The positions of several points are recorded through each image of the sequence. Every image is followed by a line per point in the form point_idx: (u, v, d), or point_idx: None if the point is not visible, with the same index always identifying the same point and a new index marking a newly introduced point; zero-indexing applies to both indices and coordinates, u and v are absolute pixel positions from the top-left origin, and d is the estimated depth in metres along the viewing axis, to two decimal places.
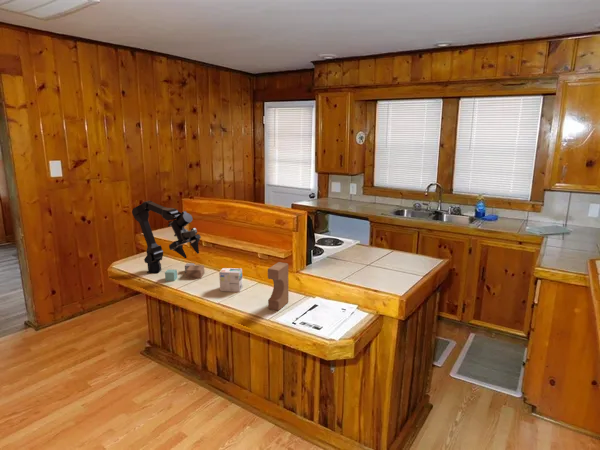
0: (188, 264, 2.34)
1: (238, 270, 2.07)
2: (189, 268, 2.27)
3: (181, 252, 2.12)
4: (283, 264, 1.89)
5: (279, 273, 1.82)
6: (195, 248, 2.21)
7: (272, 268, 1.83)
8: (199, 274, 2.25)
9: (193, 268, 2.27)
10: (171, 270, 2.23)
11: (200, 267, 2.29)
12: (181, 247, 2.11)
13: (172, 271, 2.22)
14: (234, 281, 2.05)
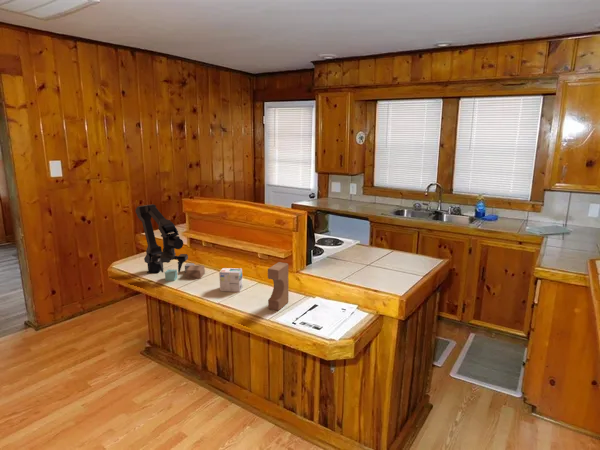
0: (188, 264, 2.34)
1: (238, 270, 2.07)
2: (189, 268, 2.27)
3: None
4: (283, 264, 1.89)
5: (279, 273, 1.82)
6: None
7: (272, 268, 1.83)
8: (199, 274, 2.24)
9: (193, 268, 2.27)
10: (171, 270, 2.23)
11: (200, 267, 2.29)
12: (158, 263, 2.19)
13: (172, 271, 2.22)
14: (234, 281, 2.06)
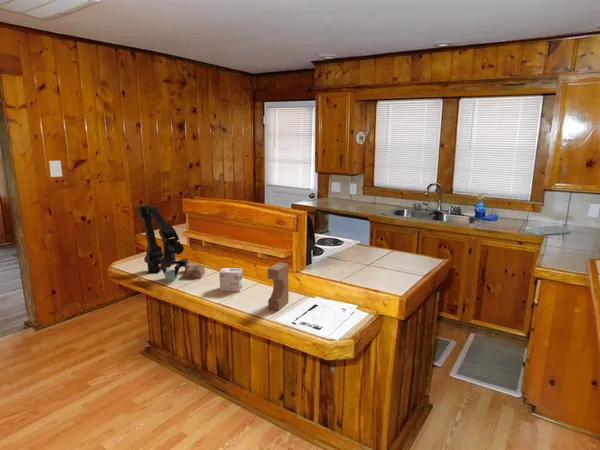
0: (188, 264, 2.34)
1: (238, 270, 2.07)
2: (189, 268, 2.27)
3: None
4: (283, 264, 1.89)
5: (279, 273, 1.82)
6: None
7: (272, 268, 1.83)
8: (199, 274, 2.24)
9: (193, 268, 2.27)
10: (171, 270, 2.23)
11: (200, 267, 2.29)
12: (162, 268, 2.20)
13: (172, 271, 2.22)
14: (234, 281, 2.06)
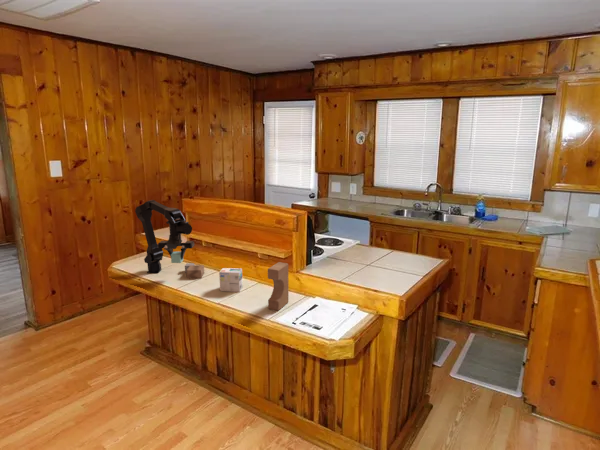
0: (188, 264, 2.34)
1: (238, 270, 2.07)
2: (189, 268, 2.27)
3: None
4: (283, 264, 1.89)
5: (279, 273, 1.82)
6: None
7: (272, 268, 1.83)
8: (199, 274, 2.25)
9: (193, 268, 2.27)
10: (177, 252, 2.22)
11: (200, 267, 2.29)
12: (168, 250, 2.19)
13: (178, 253, 2.21)
14: (234, 281, 2.05)
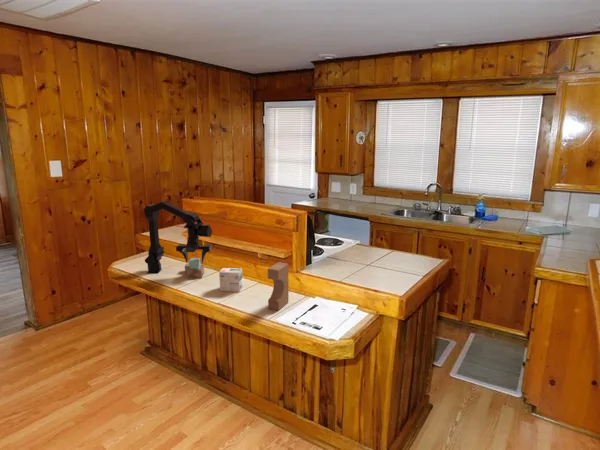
0: (188, 264, 2.34)
1: (238, 270, 2.07)
2: (189, 268, 2.26)
3: None
4: (283, 264, 1.89)
5: (279, 273, 1.82)
6: None
7: (272, 268, 1.83)
8: (200, 274, 2.25)
9: None
10: (195, 258, 2.27)
11: (200, 267, 2.29)
12: (183, 253, 2.24)
13: (196, 259, 2.26)
14: (234, 281, 2.06)
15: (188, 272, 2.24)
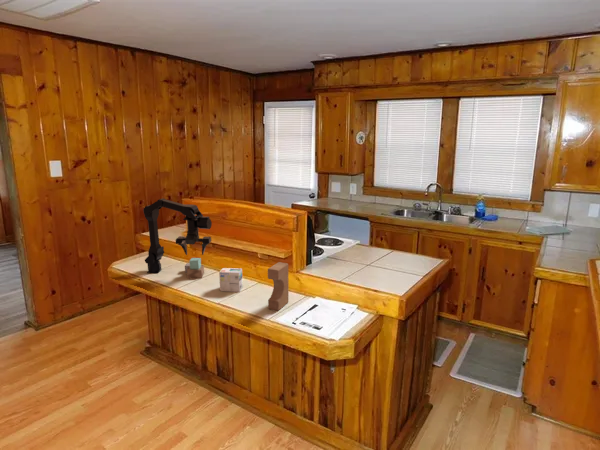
0: (188, 264, 2.34)
1: (238, 270, 2.07)
2: (189, 268, 2.26)
3: None
4: (283, 264, 1.89)
5: (279, 273, 1.82)
6: None
7: (272, 268, 1.83)
8: (200, 274, 2.25)
9: None
10: (195, 258, 2.28)
11: (200, 267, 2.29)
12: (182, 245, 2.23)
13: (196, 259, 2.26)
14: (234, 281, 2.05)
15: (188, 272, 2.24)
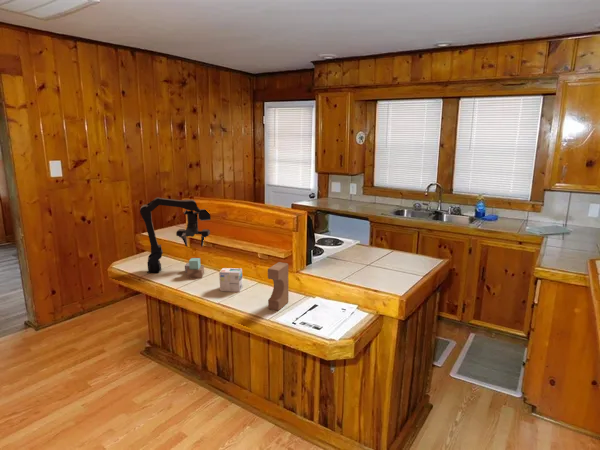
0: (188, 264, 2.34)
1: (238, 270, 2.07)
2: None
3: None
4: (283, 264, 1.89)
5: (279, 273, 1.82)
6: None
7: (272, 268, 1.83)
8: (200, 274, 2.25)
9: None
10: (195, 259, 2.27)
11: (200, 267, 2.29)
12: (182, 237, 2.36)
13: (196, 259, 2.26)
14: (234, 281, 2.06)
15: (188, 272, 2.24)
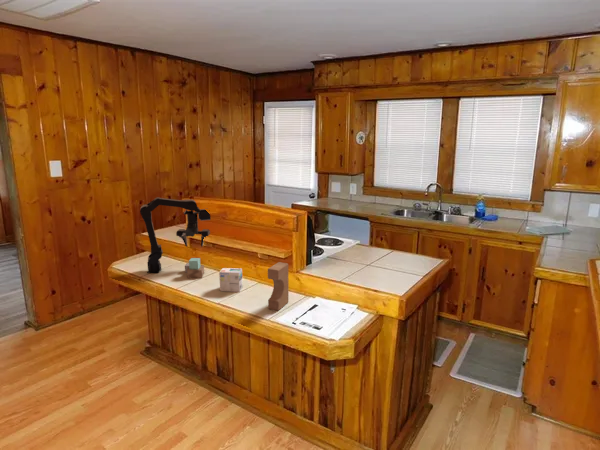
0: (188, 264, 2.34)
1: (238, 270, 2.07)
2: None
3: None
4: (283, 264, 1.89)
5: (279, 273, 1.82)
6: None
7: (272, 268, 1.83)
8: (200, 274, 2.25)
9: None
10: (195, 259, 2.27)
11: (200, 267, 2.29)
12: (182, 237, 2.36)
13: (196, 259, 2.26)
14: (234, 281, 2.05)
15: (188, 272, 2.24)
